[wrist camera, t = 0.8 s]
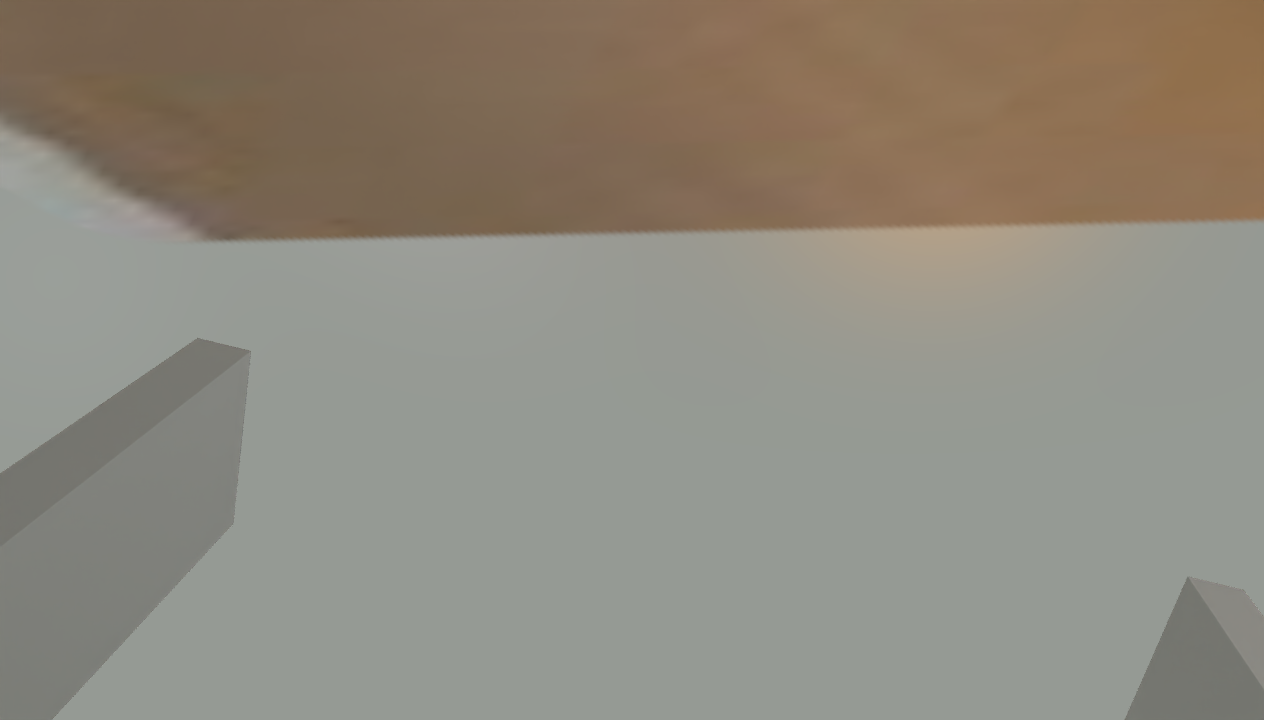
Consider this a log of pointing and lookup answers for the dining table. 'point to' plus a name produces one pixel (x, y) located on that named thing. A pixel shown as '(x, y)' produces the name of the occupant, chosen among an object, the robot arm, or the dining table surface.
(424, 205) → the dining table surface
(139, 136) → the dining table surface
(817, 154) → the dining table surface
